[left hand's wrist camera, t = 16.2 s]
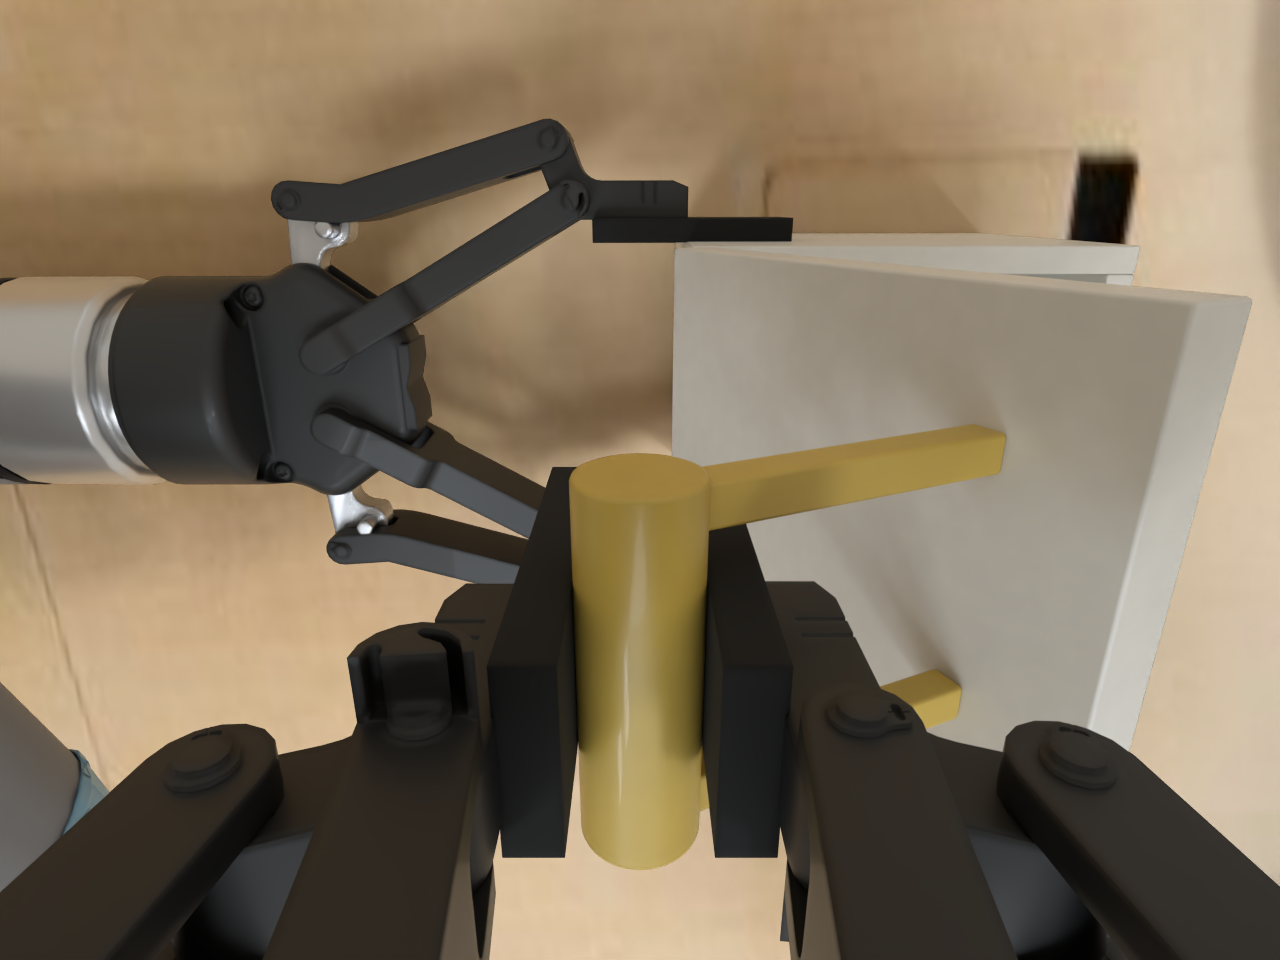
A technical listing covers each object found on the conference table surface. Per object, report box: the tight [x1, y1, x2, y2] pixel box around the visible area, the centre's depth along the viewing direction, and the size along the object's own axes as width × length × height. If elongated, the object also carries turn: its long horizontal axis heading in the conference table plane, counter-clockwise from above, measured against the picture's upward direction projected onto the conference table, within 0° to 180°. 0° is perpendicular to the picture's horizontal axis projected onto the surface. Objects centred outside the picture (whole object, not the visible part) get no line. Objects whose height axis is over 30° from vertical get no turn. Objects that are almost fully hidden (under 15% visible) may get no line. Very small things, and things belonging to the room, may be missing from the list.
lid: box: [569, 247, 1252, 870], centre depth 15 cm, size 14×10×8 cm
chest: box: [676, 233, 1140, 286], centre depth 28 cm, size 13×10×11 cm
